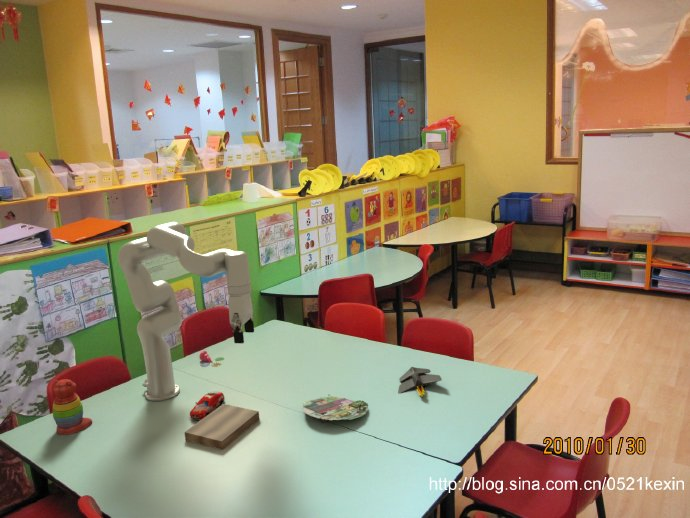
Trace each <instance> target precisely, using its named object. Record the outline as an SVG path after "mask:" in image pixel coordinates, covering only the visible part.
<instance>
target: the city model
mask: <svg viewBox="0 0 690 518" xmlns="http://www.w3.org/2000/svg"><path fill="white" fill-rule="evenodd" d="M368 406H369V404H368V402H366V401H364V400H353V399H348V398H345V397H338V396H331V395H328V396H327V397H325V396H321V397H318V398H315V399H310V400H306V401H304V403H302V407H301V410H302V411H303V413H305V414H306V415H308V416H310V417H312V418H313V417H314V418H316V419H318V421H319V423H320V422H321V421H322V423H323V424H325V423H327V422H328V420H329V421H333V420H334V421H335V420H336V421H340V420H344V421H345V420H348V421H351V420H354V419H357V418H360V417H364V415H366V414H367V413H369V407H368Z"/></svg>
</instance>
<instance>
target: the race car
mask: <svg viewBox="0 0 690 518" xmlns="http://www.w3.org/2000/svg"><path fill="white" fill-rule="evenodd" d="M224 403H225V395H224V393H223V392H222V391H211V392H207V393H206V394H204V395H203V396H202V397H201V398H200V399H199V400H198V402H195V406H194V407H193V408H192V409H191V410H190V411H189V416H190V419H191V420H193V421H194V420H195V421H200V420H202V419H203V418H205V417H206V416H207V415H209V414H210V413H211V412H213V411H214V410H216V409H217V408H218V407H220V406H221V405H223V404H224Z"/></svg>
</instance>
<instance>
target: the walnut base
mask: <svg viewBox="0 0 690 518" xmlns="http://www.w3.org/2000/svg"><path fill="white" fill-rule="evenodd" d="M259 420H260V411H258V410H253V409H250V408H245V407H239V406H235V405H230V404H226V403H223V404H222V405H221V406H219V407H218V408H217V409H216V410H214V411H213V412H211V413H210V414H209V415H207V416H206V417H205V418H203V419H202V420H198V422H196V423H195V424H193V425H191V427H189V428H188V429H187V430H185V431H184V437H185V441H186V442H191V443H193V444H199V445H202V446H205V447H210V448H213V449H218V450H222V451H224V450H225V449H226V448H227V447H228V446H229V445H231V444H232V443H233V442H234V441H235V440H237V439H238V438H239V437H240V436H241V435H243V434H244V433H245V432H247V430H249V429H250V428H251V427H253V425H255V424H256V423H257V422H258V421H259Z"/></svg>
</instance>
